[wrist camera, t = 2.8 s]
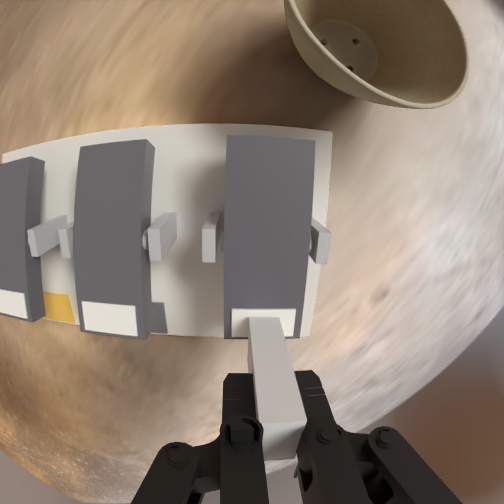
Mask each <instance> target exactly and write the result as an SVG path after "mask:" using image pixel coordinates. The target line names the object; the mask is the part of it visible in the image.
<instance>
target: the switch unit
mask: <svg viewBox="0 0 504 504" xmlns="http://www.w3.org/2000/svg"><path fill="white" fill-rule="evenodd" d="M227 135H250V136H270V137H284V138H296V139H306V140H315V167H314V189H313V207H312V222H311V237H312V249H311V252H310V253H309V259H308V269H307V279H306V289H305V298H304V307H303V315H302V323H301V331H300V337H303V336H309V335H310V329H311V324H312V318H313V312H314V306H315V300H316V294H317V287H318V281H319V274H320V267H321V264H327V261H328V254H329V246H330V238H331V232H330V231H329V230H327V229H326V228H325V226H326V217H327V207H328V196H329V184H330V171H331V155H332V136H333V132H330V131H323V130H315V129H306V128H297V127H286V126H272V125H255V124H175V125H159V126H146V127H135V128H126V129H117V130H110V131H103V132H96V133H90V134H84V135H78V136H73V137H68V138H63V139H58V140H53V141H49V142H45V143H40V144H36V145H32V146H29V147H25V148H21V149H18V150H14V151H11V152H8V153H4V154H3V157H2V160H3V163H7V162H10V161H14V160H18V159H22V158H26V157H30V156H32V157H35V158H37V159H40V160H43V161H45V167H44V175H43V184H42V196H41V213H40V224H39V225H37V226H35V227H33V228H31V229H29V230H27V232H28V238H29V244H30V250H31V255H32V257H39V256H40V258H41V275H42V287H43V296H44V305H45V312H46V316H44V317H42V319H47V320H53V321H58V322H64V323H70V324H76V325H80V323H79V315H78V307H77V297H76V286H75V271H74V204H75V189H76V178H77V168H78V160H79V152H80V147H81V146H88V145H95V144H102V143H110V142H119V141H129V140H140V139H147V140H148V141H149V142H150V143H151V144H152V145H153V146H154V147H155V156H154V168H153V182H152V200H151V226H150V227H149V228H148V229H147V230H148V244H149V256H150V262H151V296H152V314H153V328H154V330H153V331H152V332H151V333H152V334H165V335H180V336H200V337H224V252H222V251H220V231H224V210H225V173H226V145H227Z"/></svg>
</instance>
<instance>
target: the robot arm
mask: <svg viewBox="0 0 504 504" xmlns="http://www.w3.org/2000/svg"><path fill="white" fill-rule="evenodd" d="M296 453H297V458H298V465H297V467H296V470H295V472H294V478H296V477H297V475H298V479H299V485H300V490H301V496H302V501H303V504H462V502H461V501H460V500H459V499H458V498H457V497H456V496H455V495H454V494H453V492H451V490H450V489H449V488H448V487H447V486H446V485H445V484H444V482H443V481H442V480H441V479H440V478H439V477H438V476H437V475H436V474H435V472H434V471H433V470H432V469H431V468H430V467H429V466H428V465H427V463H426V462H425V461H424V460H423V459H422V458H421V457H420V456H419V455H418V454H417V452H416V451H415V450H414V449H413V448H412V447H411V446H410V444H409V443H408V442H407V441H406V440H405V439H404V438H403V437H402V435H401V434H400V433H399V432H398V431H397V430H395V429H394V428H391V427H385V426H382V427H378V428H375V429H374V430H373V431H372V432H371V433H370V434H359V433H351V432H347V431H345V430H344V429H343V428H342V427H340V426H339V425H337V424H336V422H335V420H334V417H333V414H332V412H331V409H330V406H329V403H328V400H327V398H326V395H325V392H324V389H323V388H322V384H321V381H320V378H319V377H318V376H317V375H316V374H315V373H314V372H313V371H312V370H306V371H294V369H293V366H292V362H291V358H290V355H289V351H288V347H287V344H286V340H285V336H284V333H283V329H282V325H281V322H280V318H279V317H249V335H248V373H228V375H227V377H226V378H225V380H224V381H223V407H222V424H221V427H220V435H219V437H218V438H217V439H215V440H214V441H212V442H211V443H208V444H205V445H200V446H195V447H192V446H190V445H188V444H186V443H182V442H173V443H169V444H167V445H165V446H163V447H162V448H161V449H160V450H159V452H158V454H157V456H156V457H155V459H154V461H153V463H152V465H151V467H150V469H149V471H148V472H147V474H146V476H145V478H144V480H143V482H142V484H141V486H140V487H139V489H138V491H137V493H136V495H135V497H134V499H133V500H132V502H131V504H201V502H202V500H203V497H204V494H205V493H206V492H211V491H215V490H219V489H220V504H269V499H268V491H267V482H266V473H265V464H264V461H269V460H283V459H294V458H295V456H296Z"/></svg>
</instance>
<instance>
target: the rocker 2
mask: <svg viewBox="0 0 504 504" xmlns="http://www.w3.org/2000/svg"><path fill="white" fill-rule="evenodd" d="M154 156H155V147H154V146H153V145H152V144H151V143H150V142H149V141H148V140H147V139H140V140H129V141H119V142H110V143H102V144H95V145H88V146H81V147H80V152H79V160H78V168H77V178H76V189H75V204H74V271H75V286H76V297H77V307H78V315H79V323H80V330H81V332H86V333H93V334H100V335H107V336H115V337H123V338H132V339H141V340H146V338H147V337H148V336H149V335H150V333H151V332H152V331H153V330H154V328H153V314H152V296H151V262H150V256H149V244H148V230H147V229H148V228H149V227H150V226H151V200H152V182H153V168H154Z"/></svg>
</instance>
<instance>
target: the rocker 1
mask: <svg viewBox="0 0 504 504" xmlns="http://www.w3.org/2000/svg"><path fill="white" fill-rule="evenodd" d="M44 167H45V161H43V160H40V159H37V158H35V157H32V156H30V157H26V158H22V159H18V160H14V161H10V162H7V163H3V164H0V315H4V316H8V317H12V318H16V319H20V320H24V321H29V322H34V321H36V320H38V319H40V318H42V317H44V316H46V312H45V305H44V296H43V287H42V275H41V258H40V256H39V257H32V255H31V250H30V244H29V238H28V232H27V230H29V229H31V228H33V227H35V226H37V225H39V224H40V213H41V196H42V184H43V175H44Z"/></svg>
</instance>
